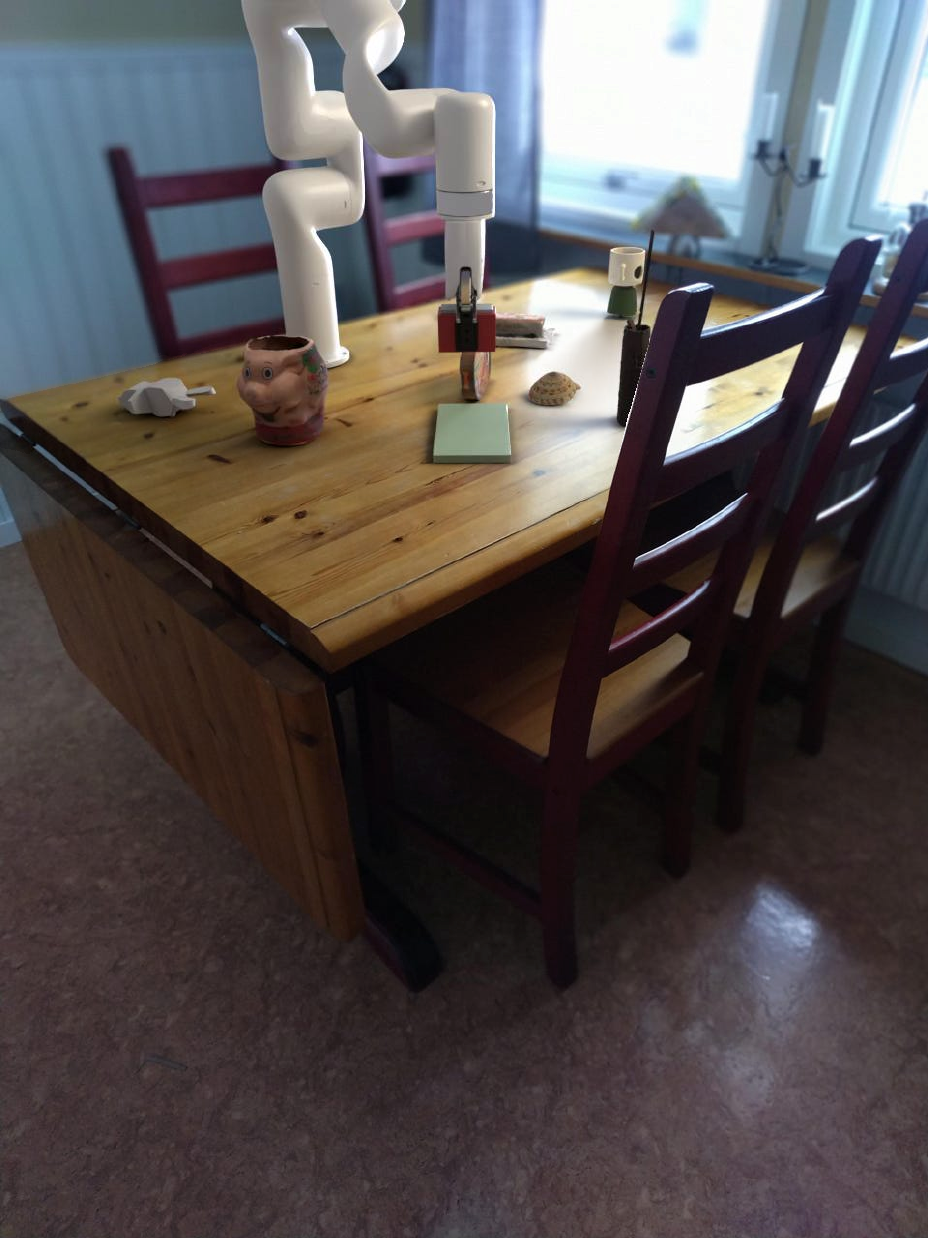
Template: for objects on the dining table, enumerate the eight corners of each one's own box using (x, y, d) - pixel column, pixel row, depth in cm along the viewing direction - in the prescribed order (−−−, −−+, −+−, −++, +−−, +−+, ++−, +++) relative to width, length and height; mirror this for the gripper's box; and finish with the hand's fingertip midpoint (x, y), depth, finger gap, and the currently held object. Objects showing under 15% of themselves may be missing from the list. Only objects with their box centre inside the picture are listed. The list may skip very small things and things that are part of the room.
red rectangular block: (495, 352, 119) (495, 310, 116) (438, 352, 119) (437, 311, 116) (495, 342, 123) (495, 302, 119) (439, 343, 123) (438, 302, 120)
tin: (476, 407, 138) (476, 355, 133) (457, 406, 138) (456, 354, 134) (492, 376, 150) (493, 328, 145) (475, 375, 150) (475, 327, 146)
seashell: (592, 381, 141) (566, 374, 135) (582, 415, 142) (556, 409, 136) (552, 370, 145) (526, 363, 139) (543, 403, 147) (516, 397, 141)
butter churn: (595, 408, 137) (610, 219, 121) (654, 408, 137) (677, 219, 121) (601, 430, 129) (617, 232, 113) (663, 430, 129) (689, 232, 113)
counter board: (433, 463, 120) (433, 455, 120) (438, 410, 137) (438, 403, 136) (510, 462, 120) (510, 454, 120) (506, 410, 137) (506, 403, 136)
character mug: (633, 324, 175) (640, 257, 168) (599, 321, 177) (605, 254, 170) (642, 310, 184) (649, 245, 176) (610, 307, 186) (615, 243, 178)
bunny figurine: (139, 373, 141) (215, 371, 136) (149, 403, 144) (224, 402, 139) (102, 392, 134) (181, 391, 129) (113, 423, 136) (191, 424, 131)
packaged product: (455, 318, 163) (467, 304, 171) (455, 344, 165) (467, 329, 173) (548, 323, 159) (556, 309, 167) (547, 349, 162) (555, 334, 170)
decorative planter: (280, 405, 140) (268, 318, 132) (351, 409, 138) (343, 322, 130) (229, 454, 124) (212, 359, 116) (309, 460, 122) (297, 364, 114)
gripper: (439, 194, 117) (443, 328, 128) (433, 215, 103) (438, 364, 114) (493, 193, 117) (492, 328, 128) (495, 215, 103) (494, 364, 114)
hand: (467, 343), depth 121 cm, fingers closed on red rectangular block, 4 cm apart
